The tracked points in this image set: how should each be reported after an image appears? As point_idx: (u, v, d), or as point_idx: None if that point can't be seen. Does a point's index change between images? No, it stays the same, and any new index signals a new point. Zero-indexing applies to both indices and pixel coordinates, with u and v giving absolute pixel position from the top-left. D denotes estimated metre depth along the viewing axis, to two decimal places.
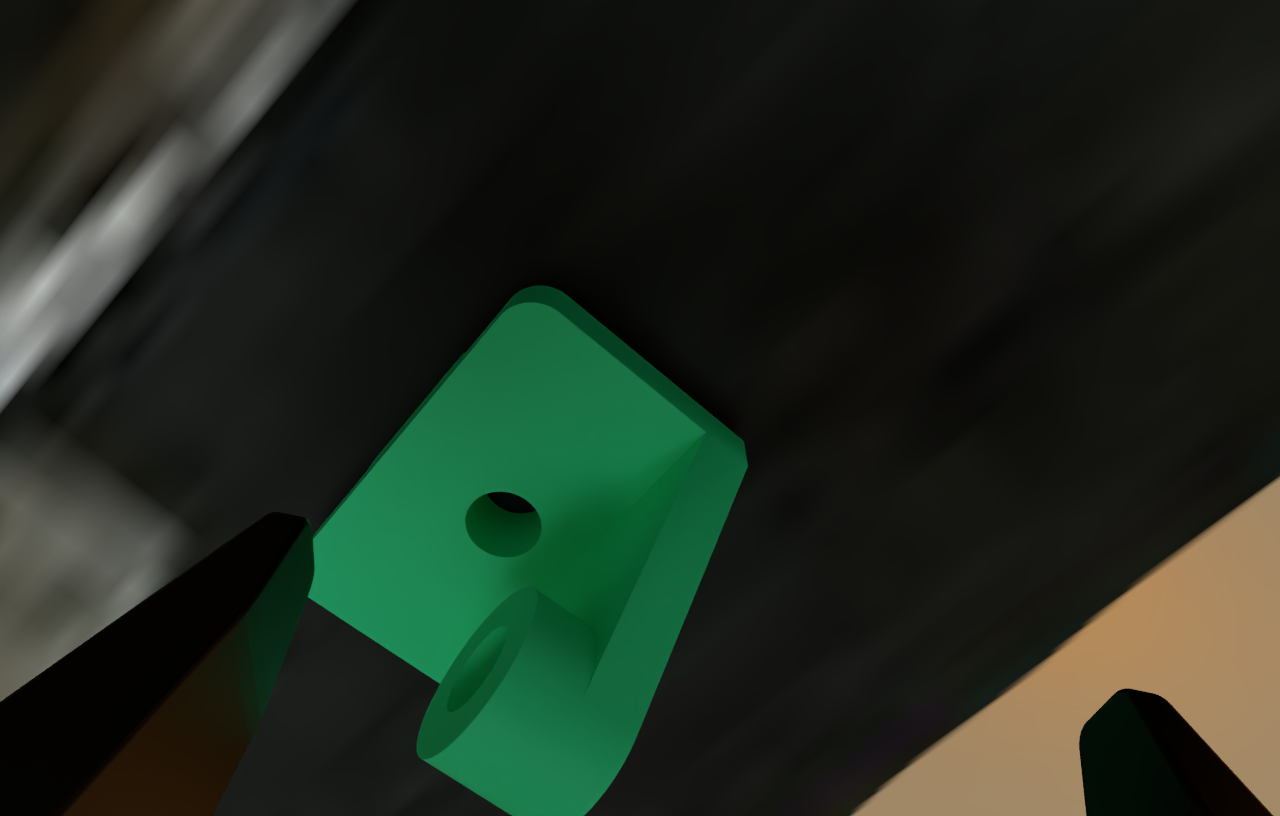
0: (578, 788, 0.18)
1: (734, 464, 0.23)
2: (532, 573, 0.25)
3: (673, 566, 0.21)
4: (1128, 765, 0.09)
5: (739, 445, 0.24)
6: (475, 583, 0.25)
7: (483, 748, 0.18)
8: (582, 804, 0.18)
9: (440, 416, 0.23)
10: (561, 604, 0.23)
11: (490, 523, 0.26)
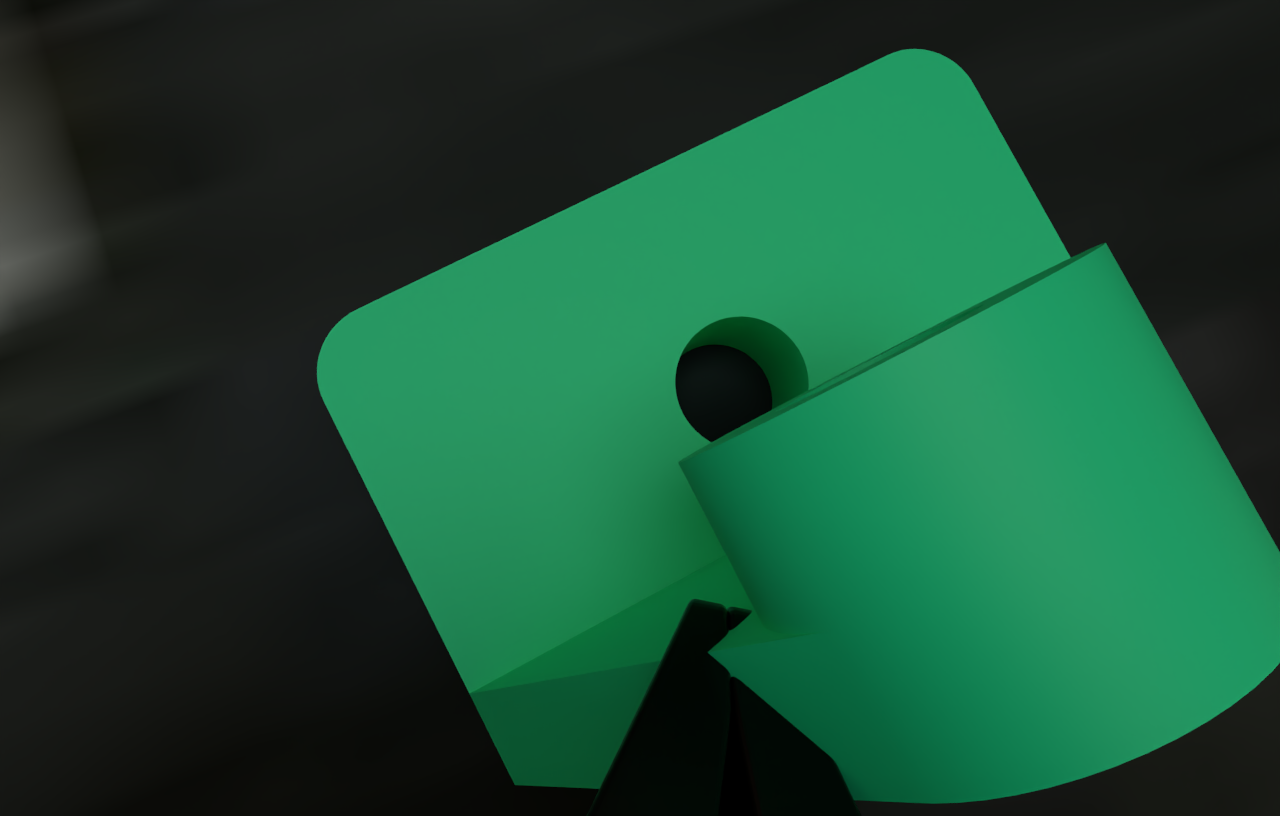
0: (1233, 606, 0.06)
1: None
2: None
3: None
4: None
5: None
6: (641, 478, 0.14)
7: (1047, 365, 0.06)
8: (1237, 664, 0.06)
9: (731, 163, 0.14)
10: None
11: None
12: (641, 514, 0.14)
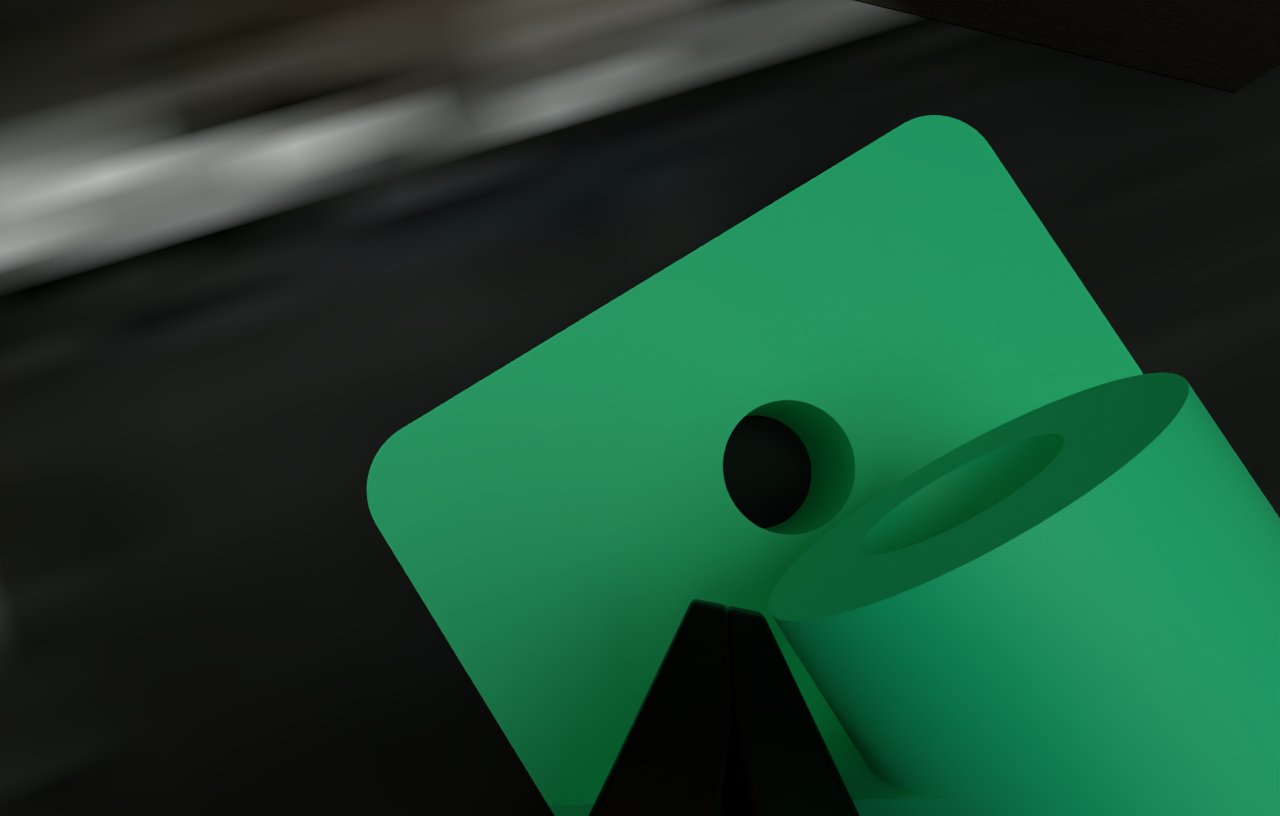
0: None
1: None
2: None
3: None
4: None
5: None
6: (698, 571, 0.14)
7: (1156, 537, 0.06)
8: None
9: (758, 247, 0.14)
10: None
11: None
12: None
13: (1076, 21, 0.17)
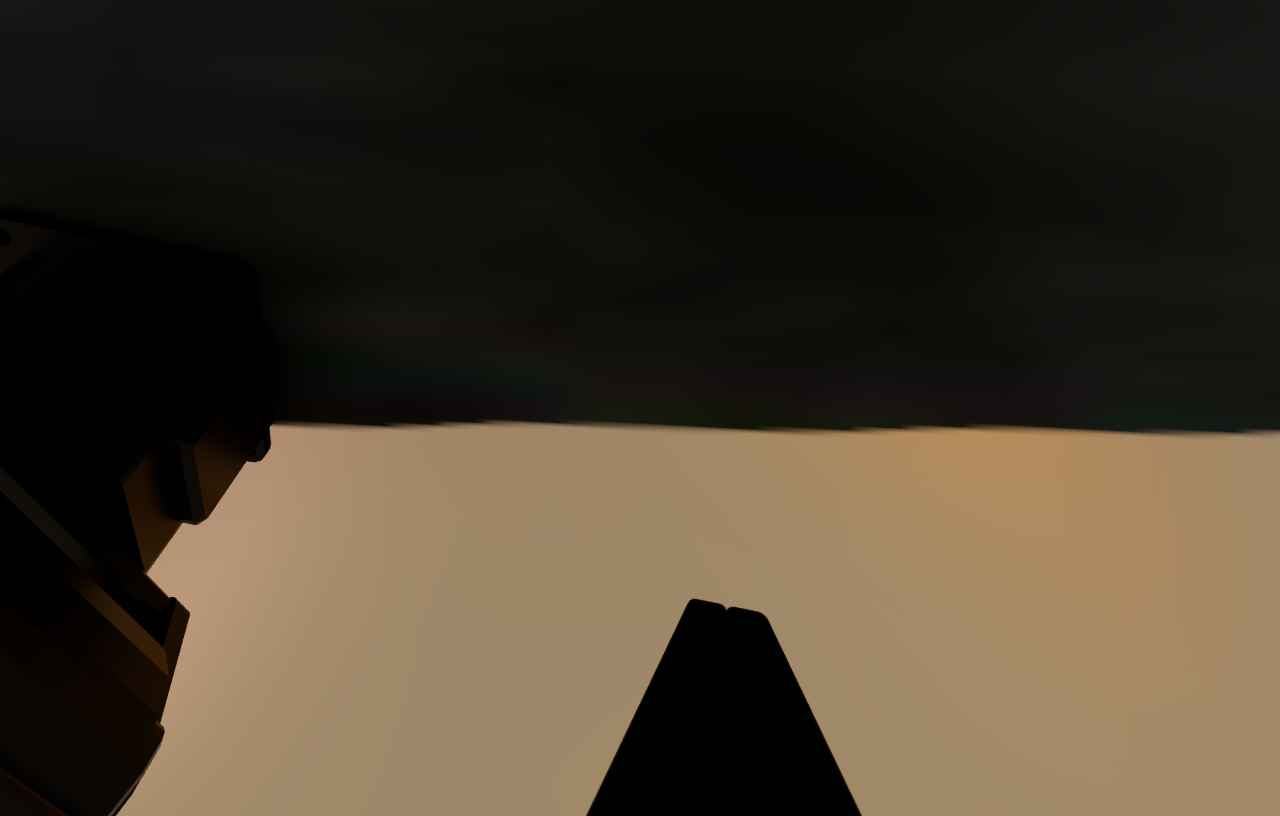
0: None
1: None
2: None
3: None
4: None
5: None
6: None
7: None
8: None
9: None
10: None
11: None
12: None
13: None
